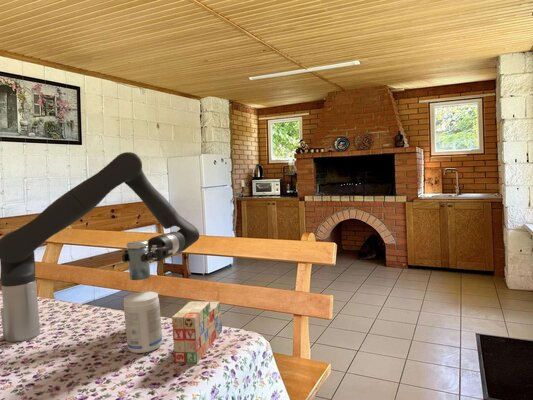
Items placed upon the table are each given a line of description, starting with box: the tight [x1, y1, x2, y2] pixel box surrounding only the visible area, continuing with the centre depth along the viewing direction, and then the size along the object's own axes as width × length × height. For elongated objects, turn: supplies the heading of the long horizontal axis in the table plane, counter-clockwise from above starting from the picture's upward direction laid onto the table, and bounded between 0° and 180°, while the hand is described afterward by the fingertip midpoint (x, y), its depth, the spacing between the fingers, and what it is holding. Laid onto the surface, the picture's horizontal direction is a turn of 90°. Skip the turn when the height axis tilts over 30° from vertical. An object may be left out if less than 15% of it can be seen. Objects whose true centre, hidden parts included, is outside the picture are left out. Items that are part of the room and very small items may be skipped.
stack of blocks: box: [171, 301, 223, 364], centre depth 110 cm, size 21×6×12 cm, turn 169°
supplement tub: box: [123, 291, 163, 354], centre depth 111 cm, size 10×10×15 cm
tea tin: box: [126, 240, 151, 281], centre depth 110 cm, size 6×6×10 cm
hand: (133, 258), depth 107 cm, fingers closed on tea tin, 5 cm apart
